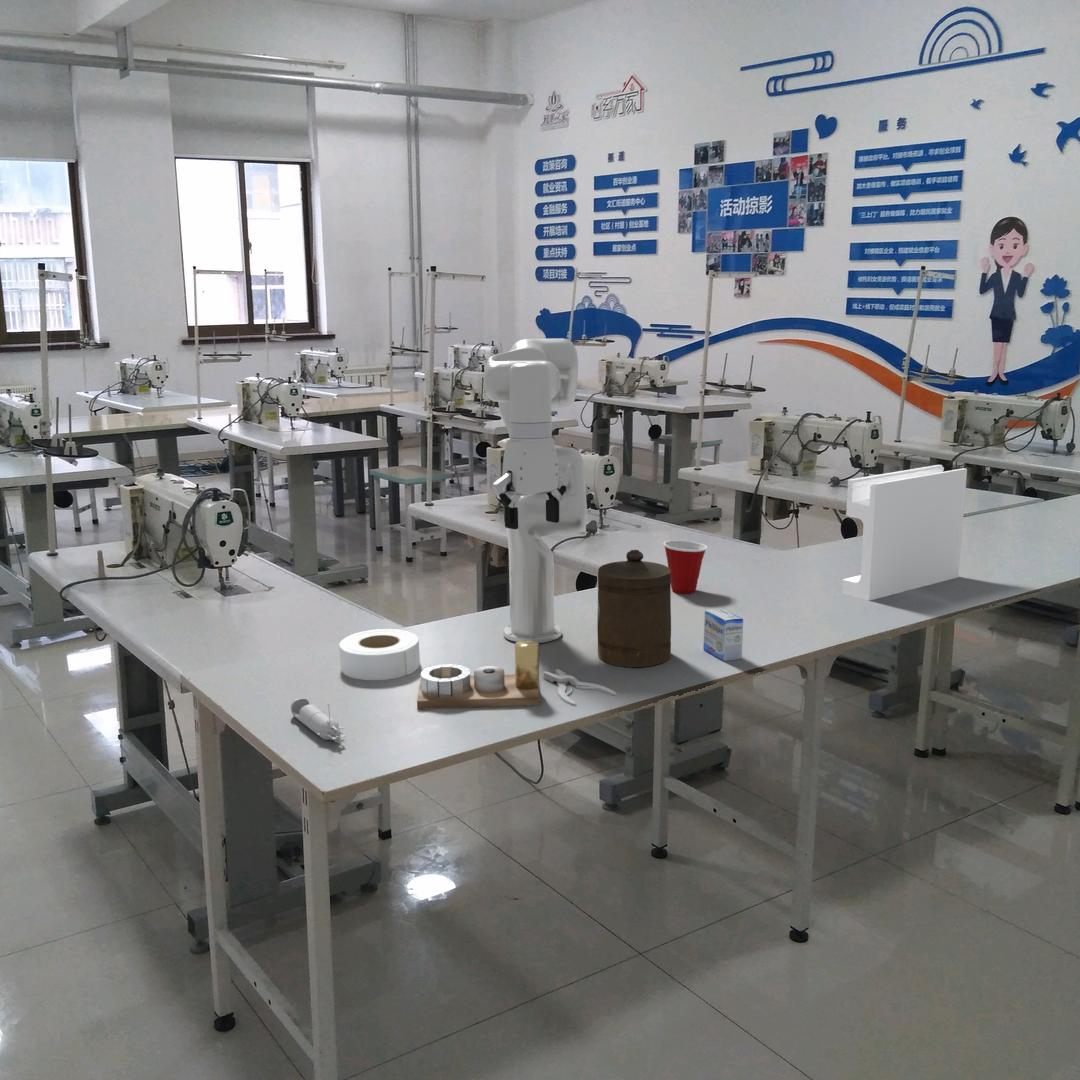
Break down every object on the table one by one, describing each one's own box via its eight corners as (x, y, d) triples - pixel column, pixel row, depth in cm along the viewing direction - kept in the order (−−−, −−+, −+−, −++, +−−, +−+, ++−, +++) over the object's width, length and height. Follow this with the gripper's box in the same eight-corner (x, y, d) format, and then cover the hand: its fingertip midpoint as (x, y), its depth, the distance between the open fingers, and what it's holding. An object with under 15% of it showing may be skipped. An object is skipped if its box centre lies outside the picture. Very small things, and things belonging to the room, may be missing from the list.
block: (868, 600, 252) (875, 484, 246) (841, 593, 259) (847, 479, 253) (958, 577, 272) (967, 468, 265) (931, 570, 278) (939, 464, 272)
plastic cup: (713, 595, 259) (714, 547, 256) (671, 598, 256) (672, 550, 254) (696, 583, 269) (697, 537, 266) (656, 586, 267) (656, 540, 264)
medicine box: (702, 650, 220) (703, 610, 218) (721, 647, 221) (722, 607, 219) (723, 662, 213) (724, 620, 211) (742, 658, 214) (744, 617, 212)
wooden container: (631, 639, 227) (631, 538, 222) (685, 655, 217) (687, 550, 212) (582, 655, 217) (581, 551, 212) (636, 673, 207) (637, 564, 202)
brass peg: (515, 681, 199) (514, 640, 197) (538, 680, 199) (538, 640, 198) (515, 690, 195) (515, 648, 193) (539, 689, 195) (539, 647, 193)
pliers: (572, 699, 191) (528, 675, 203) (572, 707, 191) (528, 683, 204) (617, 688, 196) (571, 665, 208) (617, 696, 196) (571, 672, 209)
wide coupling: (422, 680, 201) (422, 664, 200) (470, 678, 201) (470, 663, 200) (420, 697, 192) (419, 682, 191) (470, 696, 192) (469, 680, 192)
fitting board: (421, 684, 202) (420, 661, 201) (536, 681, 203) (536, 658, 202) (417, 708, 191) (416, 684, 190) (540, 705, 192) (539, 680, 191)
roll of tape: (388, 686, 202) (387, 658, 201) (324, 673, 210) (322, 646, 209) (436, 661, 216) (435, 635, 214) (373, 649, 223) (372, 624, 222)
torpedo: (284, 718, 188) (281, 683, 187) (309, 711, 191) (306, 677, 189) (328, 752, 174) (325, 714, 172) (354, 744, 177) (352, 707, 175)
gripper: (554, 427, 201) (555, 517, 204) (480, 433, 190) (482, 528, 193) (580, 430, 195) (581, 522, 198) (505, 436, 184) (507, 533, 188)
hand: (532, 525), depth 196 cm, fingers open, 9 cm apart
